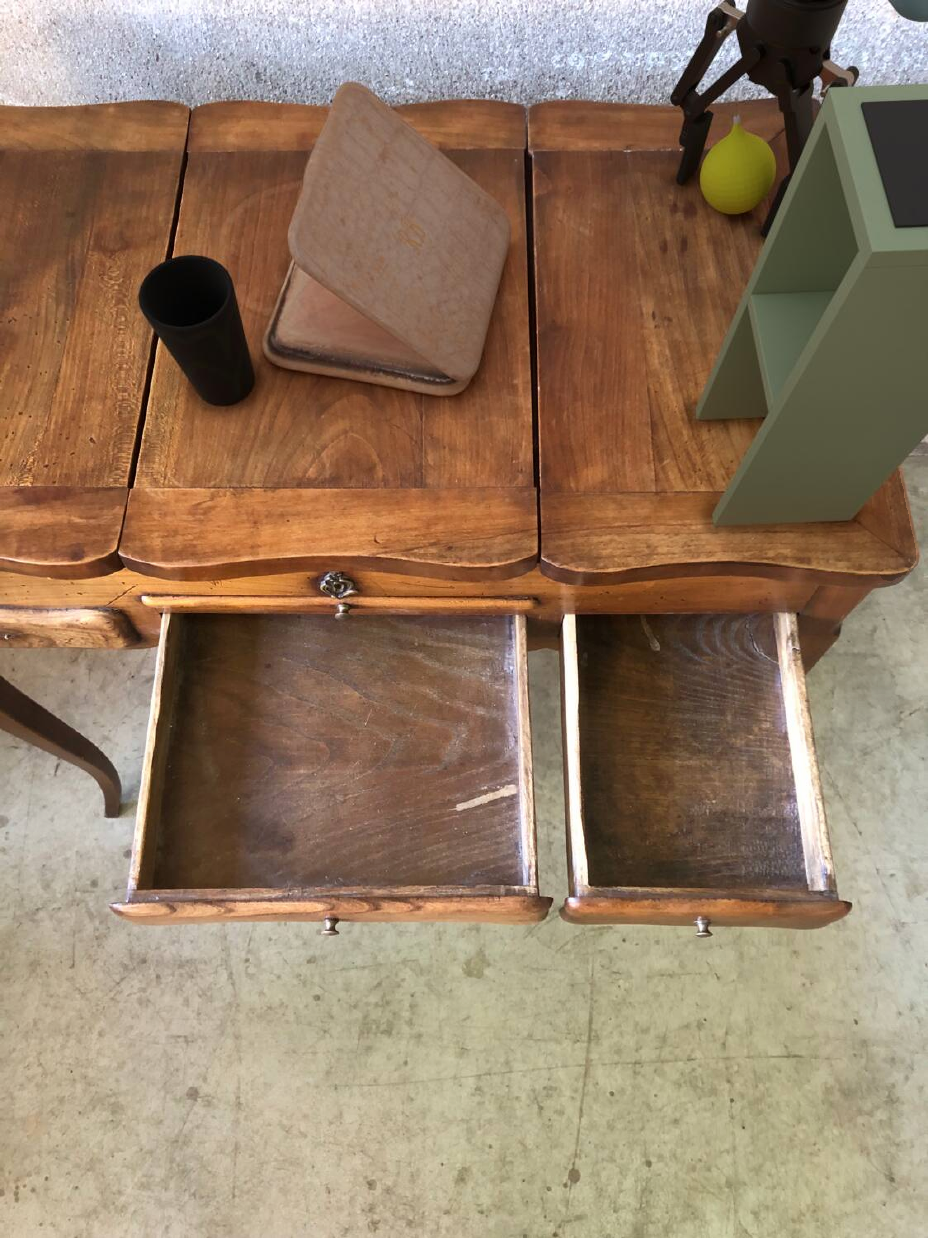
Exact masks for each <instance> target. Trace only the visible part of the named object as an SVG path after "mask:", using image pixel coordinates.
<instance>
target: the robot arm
mask: <svg viewBox="0 0 928 1238" xmlns="http://www.w3.org/2000/svg"><path fill="white" fill-rule="evenodd" d="M887 1H888V3H889V4H890V5H891V6H892V8H893V9H894V11H895V12H896V13H897V14H898V15H899V16H901V17H902V18H903V19H905V20H908V21H910V22H911V21H912V22H915V23H916V22H917V23H928V0H887ZM848 2H849V0H747V3H746V7H745V12H744V11H742V10H740V9H738V8H736V7H737V3H736V1H735V0H723V1H722V2H720V3H719V4H718V5H717V6H715V7H714V8H713V9H712V10H710V12H709V13H707V18H706V21H705V22H706V23H705V28H704V33H703V37H702V38H701V40H700V42H699V44H698V45H697V48H696V49H695V51H694V53H693V55H692V57H691V58H690V60H689V62H688V64H687V65H686V67H685V69H684V70H683V73H682V74H681V76H680V77H679V79H678V82H677V83H676V85H675V87H674V89H673V90H672V92H671V94H670V97H669V101H670V103H671V104H672V106H674V107H680V109H681V110H682V111H683V117H684V119H683V122H682V126H681V130H680V134H679V137H678V142H679V146H680V147H683V148H684V149H683V152H682V156H681V160H680V163H679V167H678V171H677V174H676V179H675V182H676V183H678V184H680V185H681V186H682V185H683V184H684V183H685V182H686V181H687V180H688V179H690V178H691V177H692V176H693V175H694V174H695V173H696V172H697V171H698V170H699V167H700V163H701V160H702V156H703V153H704V149H705V147H706V143H707V139H708V136H709V132H710V129H711V126H712V121H713V119H714V115H715V113H714V112H713V111H711V110H709V109H707V108H708V107H710V105H712V104H713V103H714V102H715V101H716V100H717V99H719V98H720V97H721V96H722V95H723V94H724V93H725V92H727V90H729V89H730V88H731V87H732V86H733V85H734V84H735V83H736V82H738V81H739V80H740V79H741V78H742V77H743V76H744V75H745V74H746V75H747V76H748V79H747V81H749V82H751V83H753V84H754V85H756V86H757V85H758V86H761V87H763V88H764V89H765V90H766V91H767V92H768V93H769V94H771V95H773V96H775V97H776V98H777V103H778V110H779V113H782V115H783V123H784V133H785V141H786V142H785V143H786V150H787V151H786V152H787V159H788V167H789V172H788V174H786V175H785V177H784V178H783V179H782V180H781V182H780V184H779V185H778V188H777V191H776V194H775V196H774V198H773V200H772V202H771V203H772V204H771V206H770V209H769V211H768V213H767V216H766V219H765V221H764V223H763V225H762V228H761V230H760V233H759V235H760V236H762V237H763V238H765V239H766V238H767V236H768V234H769V231H770V229H771V226H772V224H773V222H774V219H775V217H776V214H777V212H778V210H779V207H780V205H781V202H782V200H783V198H784V195H785V193H786V190H787V188H788V186H789V183H790V181H791V178H792V176H793V174H794V171H795V169H796V166H797V164H798V162H799V159H800V157H801V154H802V152H803V150H804V147H805V145H806V142H807V140H808V138H809V135H810V133H811V130H812V128H813V126H814V123H815V121H814V111H813V98H812V97H813V94H814V91H815V81H814V80H815V79H816V78H819V79H820V81H821V90H820V92H819V96H820V98H822V101H821V104H820V107H819V110H820V109H821V107H822V104H823V101H824V99H825V96H826V94H827V92H828V89H829V88H833V87H855V85H856V83H857V81H858V79H859V77H860V70H859V68H858V67H857V66H855V65H850V66H848V67H847V68H846V69H845V68H843V67H842V66H840V65H838V64H837V63H835V62H834V61H832V59H831V58H832V54H831V45H832V41H833V39H834V36H835V35H836V33H837V30H838V27H839V25H840V23H841V20H842V17H843V15H844V12H845V10H846V7H847V6H848ZM734 31H735V33H736V39H737V43H738V47H739V51H740V56H741V57H740V58H739V59H738V60H737V61H736V62H735V63H733V65H731V67H730V68H729V69H727V70H726V71H725V72H724V73H723V74H722V75H721V76H719V78H717V80H715V81H714V82H713V83H712V84H711V85H710V86H709V87H708V88H707V89H705V91H703V92H702V93H701V94H699V93H698V92H697V88H698V87H699V85H700V83H701V81H702V80H703V78H704V77H705V75H706V73H707V71H708V69H709V68H710V66H711V65H712V64H713V61H714V60H715V58H716V56H717V55H718V53H719V51H720V50H721V48H722V46H723V45H724V43H725V41H726V39H727V38H728V37H729V36H730V35H731V34H733V32H734ZM706 109H707V110H706Z"/></svg>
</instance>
